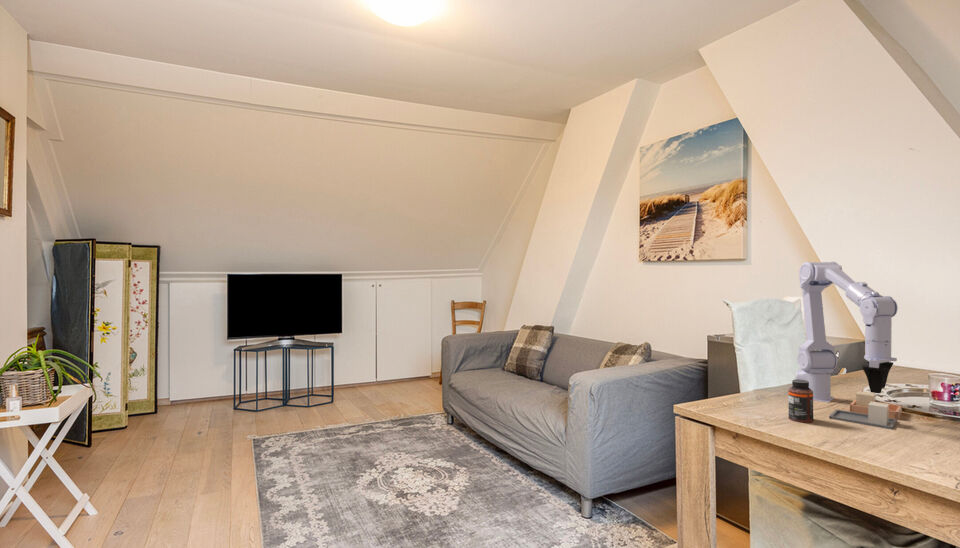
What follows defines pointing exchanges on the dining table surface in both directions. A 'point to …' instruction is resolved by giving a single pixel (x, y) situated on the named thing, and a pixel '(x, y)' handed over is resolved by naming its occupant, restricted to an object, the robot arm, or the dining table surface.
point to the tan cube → (864, 398)
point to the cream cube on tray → (878, 413)
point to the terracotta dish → (893, 409)
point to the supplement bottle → (800, 402)
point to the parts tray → (859, 419)
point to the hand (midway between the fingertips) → (877, 390)
